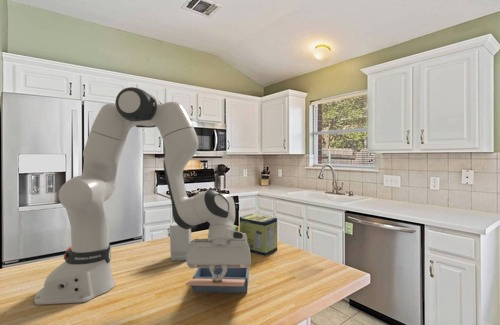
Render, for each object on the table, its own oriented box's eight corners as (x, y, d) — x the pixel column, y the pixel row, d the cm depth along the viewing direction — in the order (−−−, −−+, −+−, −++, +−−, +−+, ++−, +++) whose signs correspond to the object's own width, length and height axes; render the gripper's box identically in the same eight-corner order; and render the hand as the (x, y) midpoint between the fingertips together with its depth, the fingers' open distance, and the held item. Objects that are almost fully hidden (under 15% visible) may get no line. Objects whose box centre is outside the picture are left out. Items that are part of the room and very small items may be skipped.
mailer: (192, 292, 92) (192, 277, 92) (200, 277, 103) (200, 264, 103) (247, 293, 91) (247, 278, 91) (248, 278, 102) (248, 265, 102)
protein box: (251, 243, 142) (251, 213, 141) (277, 250, 132) (277, 217, 132) (238, 249, 133) (238, 217, 133) (266, 256, 124) (266, 222, 123)
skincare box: (192, 255, 125) (191, 221, 125) (189, 261, 119) (189, 224, 118) (173, 255, 125) (173, 221, 124) (169, 261, 118) (169, 225, 118)
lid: (194, 278, 91) (194, 279, 91) (185, 283, 81) (185, 285, 80) (245, 279, 90) (245, 280, 90) (243, 284, 80) (243, 286, 80)
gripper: (188, 234, 90) (180, 277, 81) (250, 234, 90) (250, 277, 80) (191, 243, 95) (185, 285, 86) (251, 243, 94) (251, 285, 85)
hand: (217, 281), depth 83 cm, fingers closed, pressing on lid
